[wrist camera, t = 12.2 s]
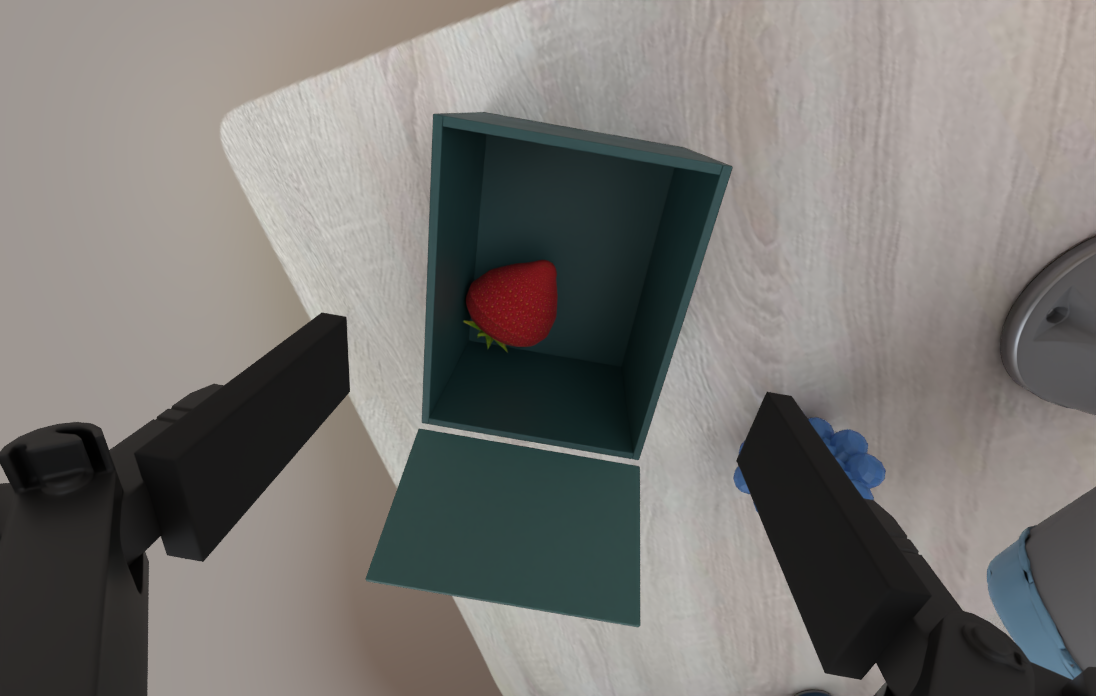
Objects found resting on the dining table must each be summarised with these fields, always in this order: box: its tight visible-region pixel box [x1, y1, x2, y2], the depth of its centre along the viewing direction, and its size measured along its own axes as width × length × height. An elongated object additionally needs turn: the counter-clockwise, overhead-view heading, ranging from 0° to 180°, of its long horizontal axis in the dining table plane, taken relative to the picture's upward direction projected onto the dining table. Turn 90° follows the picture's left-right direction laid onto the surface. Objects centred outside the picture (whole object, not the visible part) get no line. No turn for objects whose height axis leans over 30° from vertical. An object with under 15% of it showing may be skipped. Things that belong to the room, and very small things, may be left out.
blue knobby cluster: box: [733, 417, 886, 512], centre depth 39 cm, size 12×7×12 cm, turn 103°
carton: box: [422, 112, 733, 460], centre depth 33 cm, size 19×15×12 cm
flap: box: [366, 429, 640, 627], centre depth 28 cm, size 9×15×1 cm
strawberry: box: [463, 260, 558, 353], centre depth 37 cm, size 6×8×10 cm
